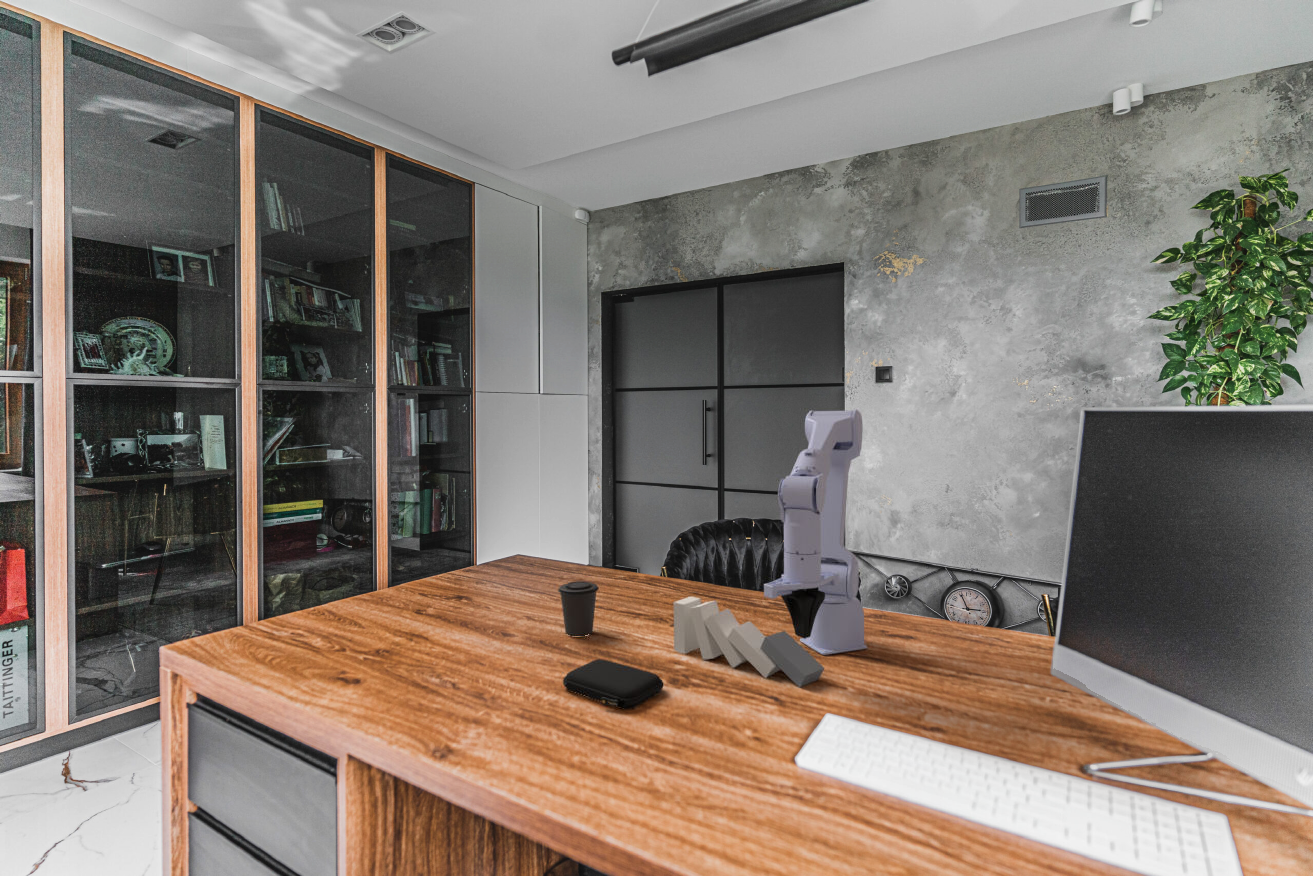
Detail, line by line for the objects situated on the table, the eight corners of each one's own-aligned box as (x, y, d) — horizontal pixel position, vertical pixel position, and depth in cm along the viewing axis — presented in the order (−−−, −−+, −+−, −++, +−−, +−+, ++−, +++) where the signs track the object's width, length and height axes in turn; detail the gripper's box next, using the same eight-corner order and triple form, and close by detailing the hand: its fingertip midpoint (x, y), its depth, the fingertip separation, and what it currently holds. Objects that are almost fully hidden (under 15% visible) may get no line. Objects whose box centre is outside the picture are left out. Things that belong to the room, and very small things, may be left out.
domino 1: (701, 646, 117) (700, 598, 117) (684, 654, 113) (683, 604, 113) (691, 643, 118) (690, 596, 118) (674, 651, 115) (673, 602, 114)
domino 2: (729, 650, 113) (716, 600, 114) (713, 658, 109) (699, 606, 110) (719, 651, 114) (706, 602, 116) (702, 659, 110) (689, 608, 112)
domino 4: (788, 659, 105) (749, 621, 110) (772, 668, 101) (733, 628, 106) (781, 669, 106) (743, 630, 111) (765, 678, 102) (726, 638, 107)
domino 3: (757, 653, 109) (728, 608, 112) (741, 661, 105) (712, 614, 109) (748, 659, 110) (720, 615, 114) (732, 668, 106) (703, 622, 110)
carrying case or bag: (552, 694, 98) (625, 719, 89) (551, 675, 98) (625, 698, 89) (597, 672, 106) (668, 693, 98) (597, 654, 106) (668, 673, 98)
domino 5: (824, 668, 100) (784, 630, 107) (805, 676, 97) (765, 637, 103) (819, 679, 101) (779, 641, 107) (799, 687, 98) (760, 648, 104)
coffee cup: (550, 637, 123) (550, 586, 123) (571, 624, 131) (570, 576, 130) (587, 642, 120) (586, 590, 120) (606, 629, 128) (605, 580, 127)
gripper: (816, 542, 107) (816, 621, 107) (750, 552, 99) (751, 637, 100) (848, 549, 101) (849, 632, 101) (781, 560, 93) (782, 650, 94)
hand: (802, 636), depth 100 cm, fingers closed
